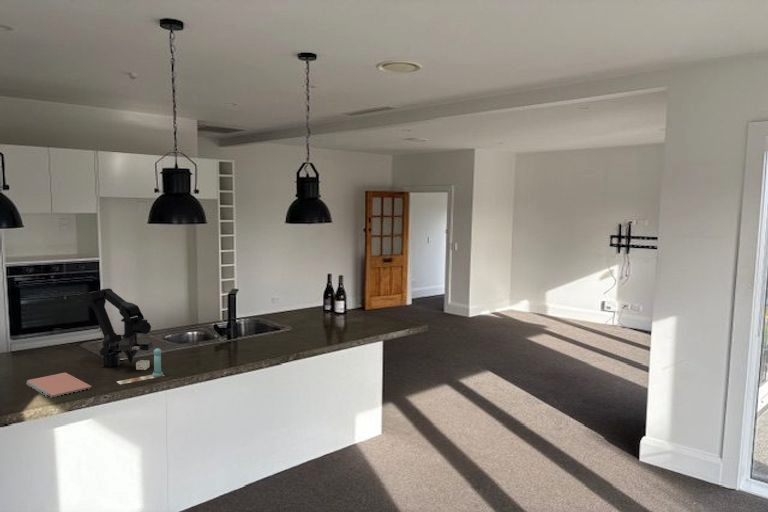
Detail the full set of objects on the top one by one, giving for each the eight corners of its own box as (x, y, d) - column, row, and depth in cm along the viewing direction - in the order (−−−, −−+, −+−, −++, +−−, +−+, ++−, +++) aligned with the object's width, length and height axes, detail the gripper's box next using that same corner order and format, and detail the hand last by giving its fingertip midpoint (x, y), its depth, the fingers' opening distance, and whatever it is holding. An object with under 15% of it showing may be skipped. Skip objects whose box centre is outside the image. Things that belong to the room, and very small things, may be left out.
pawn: (150, 376, 250) (150, 349, 249) (154, 373, 255) (154, 347, 253) (160, 376, 250) (160, 349, 249) (164, 373, 255) (163, 347, 253)
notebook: (24, 384, 239) (24, 380, 239) (65, 376, 253) (65, 371, 252) (49, 400, 223) (49, 395, 222) (91, 390, 236) (91, 385, 236)
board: (119, 388, 238) (119, 385, 238) (114, 384, 242) (114, 381, 242) (166, 378, 252) (166, 375, 252) (160, 375, 257) (160, 372, 257)
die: (135, 371, 260) (135, 362, 259) (139, 368, 264) (139, 359, 264) (145, 372, 260) (145, 362, 259) (149, 369, 264) (149, 360, 264)
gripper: (102, 334, 252) (103, 367, 253) (143, 336, 252) (143, 368, 254) (114, 329, 263) (114, 360, 264) (152, 330, 263) (153, 361, 265)
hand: (131, 363), depth 262 cm, fingers closed
